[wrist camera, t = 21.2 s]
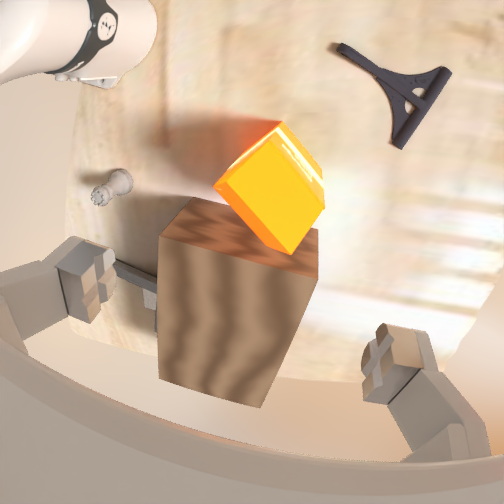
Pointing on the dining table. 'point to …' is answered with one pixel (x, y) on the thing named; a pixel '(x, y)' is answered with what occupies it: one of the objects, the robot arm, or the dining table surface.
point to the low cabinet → (228, 302)
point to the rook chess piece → (113, 187)
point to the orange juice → (275, 189)
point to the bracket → (403, 92)
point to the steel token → (149, 299)
